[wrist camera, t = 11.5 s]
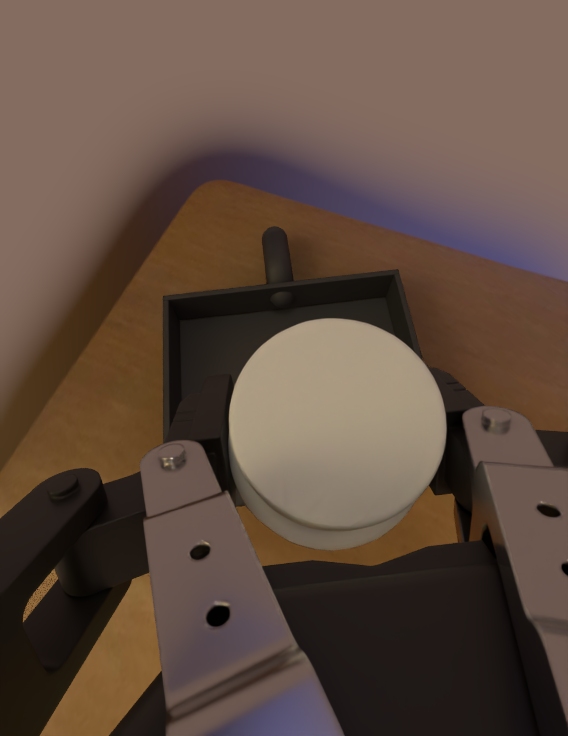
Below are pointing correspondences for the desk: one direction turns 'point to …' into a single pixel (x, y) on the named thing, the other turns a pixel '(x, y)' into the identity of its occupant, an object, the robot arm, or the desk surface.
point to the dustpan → (267, 320)
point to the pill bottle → (334, 433)
